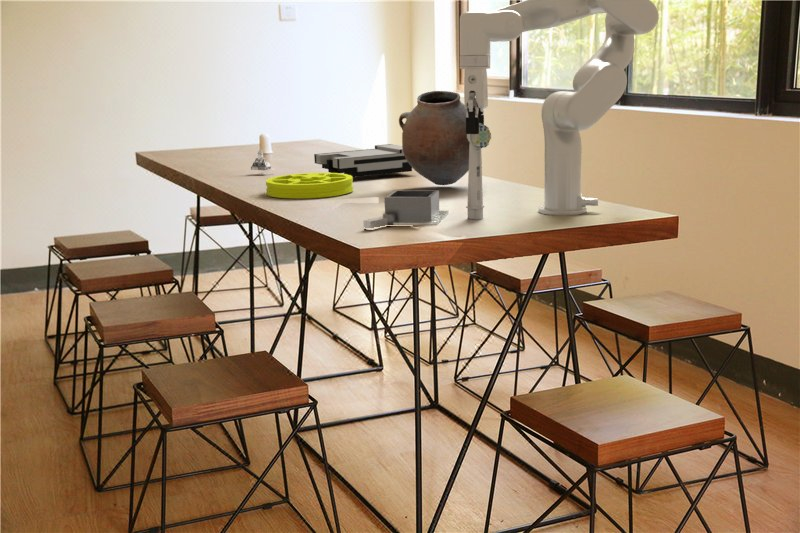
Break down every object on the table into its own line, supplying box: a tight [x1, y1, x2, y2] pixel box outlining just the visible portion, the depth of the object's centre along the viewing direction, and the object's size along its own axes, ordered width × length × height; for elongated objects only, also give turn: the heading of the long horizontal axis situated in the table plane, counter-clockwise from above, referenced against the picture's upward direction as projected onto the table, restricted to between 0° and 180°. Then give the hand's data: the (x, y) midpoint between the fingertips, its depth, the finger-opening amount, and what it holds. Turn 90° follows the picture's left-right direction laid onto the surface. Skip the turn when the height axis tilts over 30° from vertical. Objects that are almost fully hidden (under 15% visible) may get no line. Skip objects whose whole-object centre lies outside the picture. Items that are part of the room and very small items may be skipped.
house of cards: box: [250, 149, 276, 172], centre depth 365 cm, size 9×9×8 cm
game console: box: [313, 143, 413, 178], centre depth 347 cm, size 21×32×8 cm, turn 119°
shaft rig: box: [363, 189, 449, 228], centre depth 247 cm, size 18×30×7 cm, turn 168°
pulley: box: [265, 172, 354, 199], centre depth 305 cm, size 28×28×5 cm
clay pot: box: [398, 90, 470, 186], centre depth 304 cm, size 26×25×30 cm
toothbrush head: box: [465, 123, 492, 221], centre depth 241 cm, size 5×7×25 cm
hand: (475, 132), depth 239 cm, fingers open, 9 cm apart
